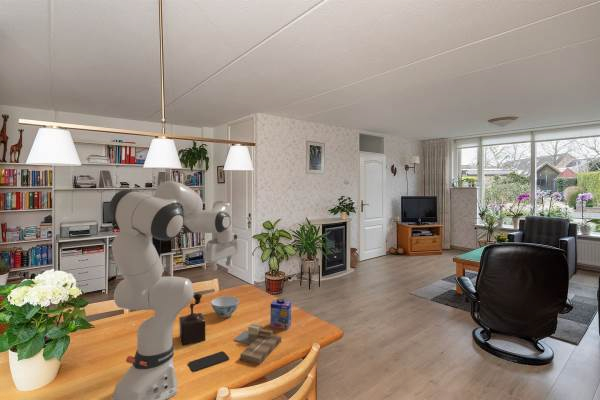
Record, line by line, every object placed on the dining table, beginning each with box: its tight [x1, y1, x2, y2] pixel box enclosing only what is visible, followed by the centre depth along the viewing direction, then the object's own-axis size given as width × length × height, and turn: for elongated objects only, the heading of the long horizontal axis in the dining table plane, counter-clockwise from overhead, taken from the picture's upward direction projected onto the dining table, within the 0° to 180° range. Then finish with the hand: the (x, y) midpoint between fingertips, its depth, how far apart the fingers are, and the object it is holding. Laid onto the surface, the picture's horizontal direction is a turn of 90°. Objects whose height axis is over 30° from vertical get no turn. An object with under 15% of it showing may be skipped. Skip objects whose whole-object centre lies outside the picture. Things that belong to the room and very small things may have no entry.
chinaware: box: [210, 295, 240, 318], centre depth 166 cm, size 15×15×8 cm
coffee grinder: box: [178, 292, 207, 346], centre depth 142 cm, size 16×11×18 cm
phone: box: [187, 351, 230, 373], centre depth 122 cm, size 7×1×15 cm
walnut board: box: [239, 333, 282, 366], centre depth 131 cm, size 20×9×3 cm, turn 158°
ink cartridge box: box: [269, 298, 292, 330], centre depth 154 cm, size 10×6×14 cm, turn 78°
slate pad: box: [232, 330, 254, 346], centre depth 141 cm, size 10×11×1 cm
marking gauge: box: [247, 322, 273, 341], centre depth 139 cm, size 4×11×6 cm, turn 68°
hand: (221, 267), depth 136 cm, fingers open, 8 cm apart
